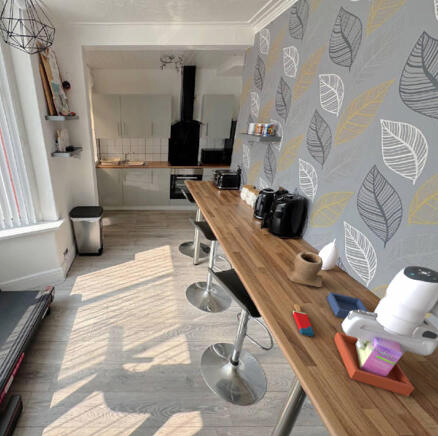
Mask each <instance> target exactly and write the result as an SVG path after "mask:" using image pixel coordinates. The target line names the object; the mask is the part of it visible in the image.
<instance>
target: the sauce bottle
mask: <svg viewBox="0 0 438 436" xmlns="http://www.w3.org/2000/svg"><path fill="white" fill-rule="evenodd" d="M318 255H319V256H320V257H321V258H322V260H323V266H322V268H321V271H322V270H323V271H330V270H331V269H333V268H334V267H335V266H336V264H337V263H338V260H339V249H338V245H337V243H336V238H334V240H333V241H332V242H329V244H327V245H325V246H323V248H322V249H321V250H320V251H319V253H318Z"/></svg>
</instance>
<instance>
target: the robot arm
mask: <svg viewBox="0 0 438 436" xmlns="http://www.w3.org/2000/svg"><path fill="white" fill-rule="evenodd" d="M426 314H431V315H433V316H434V317H435V318H437V319H438V271H437V270H435V269H431V268H428V267H424V266H418V265H409V266H405V267H403V268H402V269H401V270H400V271H398V273H396V275H394V277H393V278H392V279H391V281H390V283H389V284H388V286H387V288H386V290H385V295H384V297H382V298H380V300H379V302H378V304H377V305H376V308H375V309H374V311H373V312H371V311H368V312H367V311H363V310H353V311H350V312H349V314H348V316H347V317H346V319H344V320H343V322H342V323H341V328H342V330H343V333H344V334H346V335H348V336H351V337H355V338H357V339H358V342H357V347H358V348H359V349H362V350H365V348H366V347H367V346H366V345H365V343H364V342H365V341H366V340H367V341H370V342H372V341H373V339H374V337H379V338H383V339H387V340H391V341H394V342H398V343H399V344H400V347H401V350H402V352H403V354H405V353H407V352H409V353H412V354H416V355H420V356H425V357H427V356H431V355H432V354H433V353H434V352H435V350H437V347H438V328H436V326H435V325H434V324H433V323H432V322H431V321H430V320H429V319H427V318H426ZM362 341H363V342H362Z"/></svg>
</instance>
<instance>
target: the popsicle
mask: <svg viewBox="0 0 438 436" xmlns="http://www.w3.org/2000/svg"><path fill="white" fill-rule="evenodd" d="M293 307H294V309H295V310H293V311H292V316H293V318H294V320H295V323H296V326H297V327H298V330H299V332H300V334H301V335H302V336H303V335H304V336H307V337H311V338H313V337H314V336H315V332H314V330H313V327H312V324H311V322H310V319H309V316H308V313H307V312H303V311H301V307H300V304H297V303H294V305H293Z"/></svg>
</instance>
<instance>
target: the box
mask: <svg viewBox="0 0 438 436" xmlns="http://www.w3.org/2000/svg"><path fill="white" fill-rule="evenodd" d="M357 342H358V341H357ZM362 342H363V341H362ZM364 343H365V345H366V346H367V347H366V348H365V350H362V349H359V348H358V347H357V343H356V344H355V345H356V350H357V355H358V360H359V366H360V370H363V371H365V372H368V373H371V374H375V375H378V376H381V377H386V376H387V375H388V373H389V372H390V371H391V369H392V368H393V367H394V365H395V364H396V363H398V361H399V360H400V359H401V358H402V356H403V355H404V353H403V352H402V350H401V347H400V344H399V343H398V342H394V341H391V340H387V339H383V338H379V337H374V339H373V341H372V342H370V341H367V340H366V341H365V342H364Z"/></svg>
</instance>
